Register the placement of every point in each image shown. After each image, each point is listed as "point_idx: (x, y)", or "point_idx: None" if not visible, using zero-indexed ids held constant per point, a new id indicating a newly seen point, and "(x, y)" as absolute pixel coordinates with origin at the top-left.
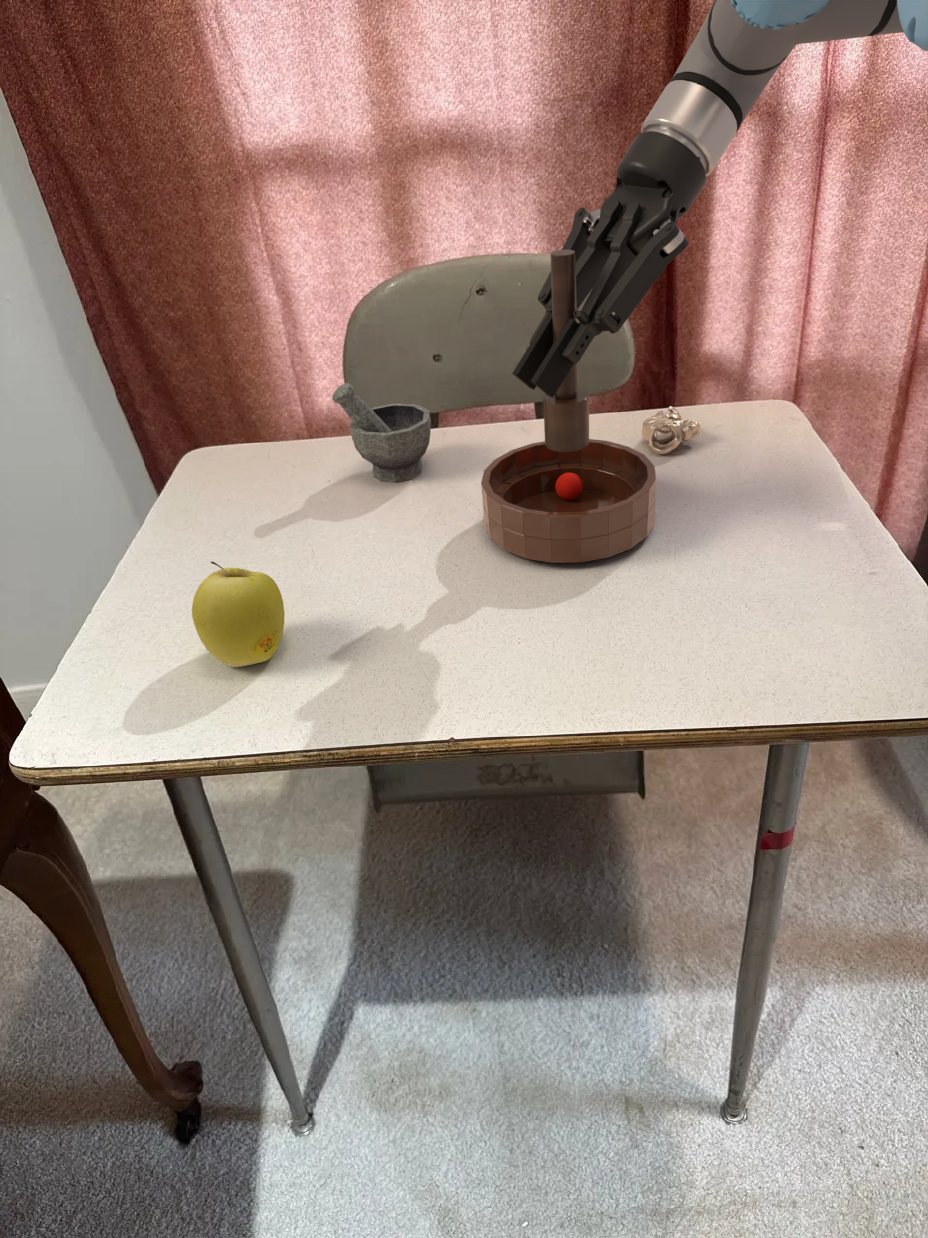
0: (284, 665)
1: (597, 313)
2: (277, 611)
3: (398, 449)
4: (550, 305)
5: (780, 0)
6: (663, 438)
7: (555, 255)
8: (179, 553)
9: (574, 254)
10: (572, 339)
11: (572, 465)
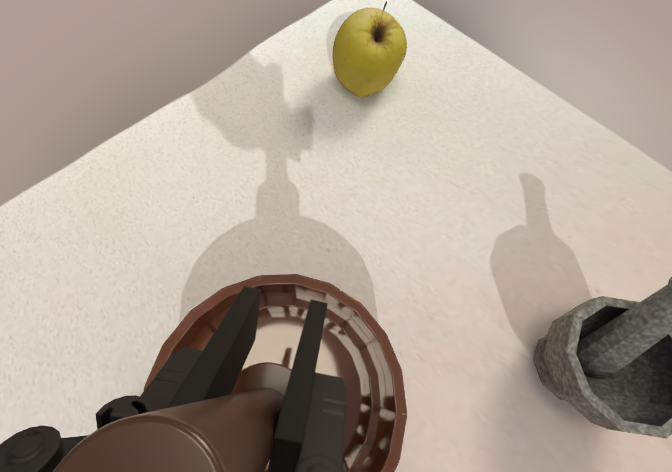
0: (329, 87)
1: (44, 442)
2: (338, 58)
3: (554, 332)
4: (312, 468)
5: None
6: None
7: (144, 419)
8: (543, 121)
9: None
10: (175, 384)
11: None
